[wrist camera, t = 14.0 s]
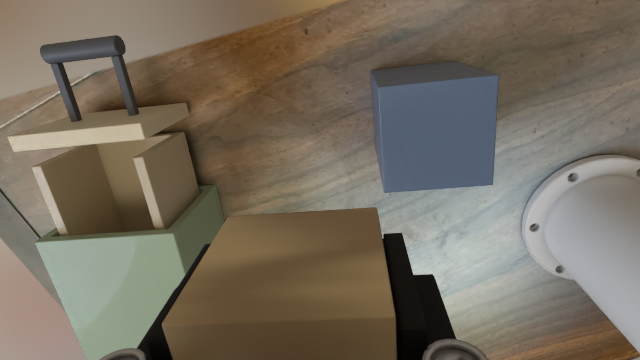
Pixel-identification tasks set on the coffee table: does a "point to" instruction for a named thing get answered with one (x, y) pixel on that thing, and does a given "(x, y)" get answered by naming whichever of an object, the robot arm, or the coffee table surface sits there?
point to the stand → (434, 126)
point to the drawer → (110, 155)
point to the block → (288, 291)
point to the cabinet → (126, 274)
